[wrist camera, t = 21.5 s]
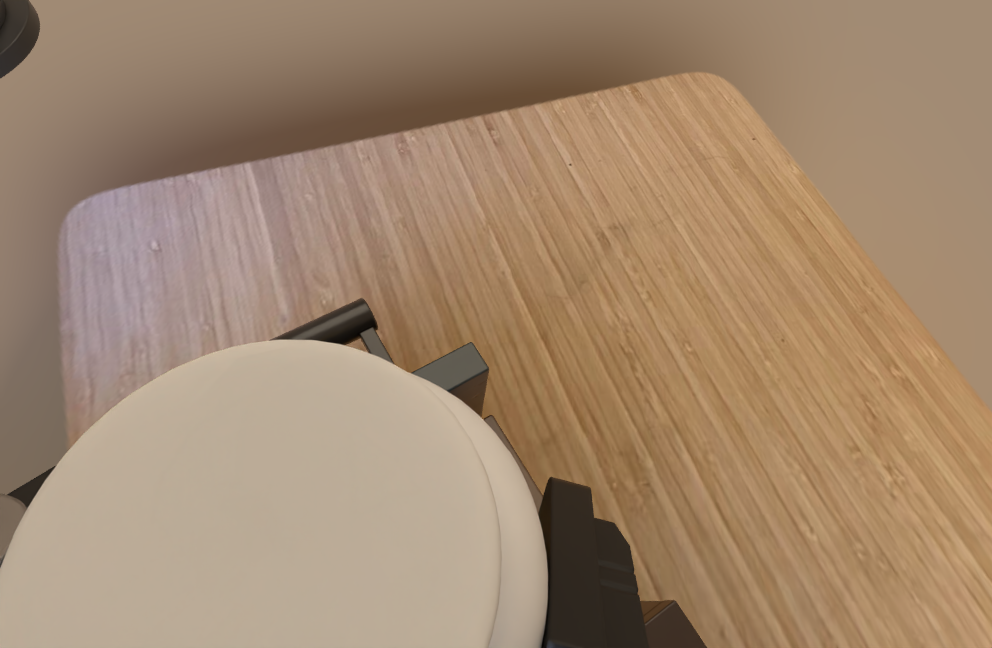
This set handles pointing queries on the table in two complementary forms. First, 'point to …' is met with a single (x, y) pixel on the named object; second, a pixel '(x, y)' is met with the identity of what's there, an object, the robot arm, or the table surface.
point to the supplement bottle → (280, 516)
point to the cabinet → (668, 626)
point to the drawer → (451, 372)
